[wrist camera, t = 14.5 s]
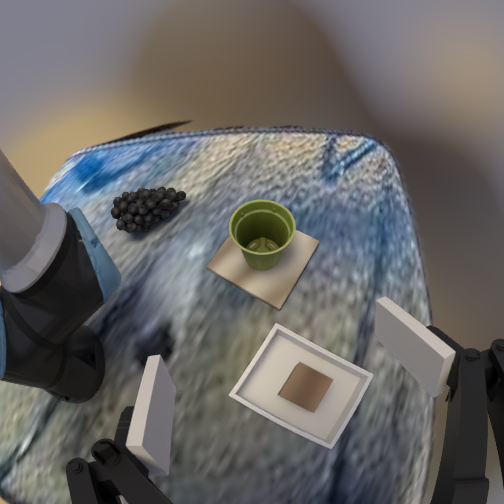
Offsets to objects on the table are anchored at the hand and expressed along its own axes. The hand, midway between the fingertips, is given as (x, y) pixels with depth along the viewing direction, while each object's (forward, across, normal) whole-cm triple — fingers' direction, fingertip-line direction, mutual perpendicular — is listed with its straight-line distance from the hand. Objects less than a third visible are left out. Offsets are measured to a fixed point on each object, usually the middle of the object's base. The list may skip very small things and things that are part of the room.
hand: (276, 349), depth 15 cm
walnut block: (+16, +4, -20) cm, 26 cm away
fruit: (+42, -14, +4) cm, 45 cm away
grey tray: (+16, +4, -21) cm, 27 cm away
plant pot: (+32, +4, -4) cm, 32 cm away
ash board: (+32, +4, -5) cm, 33 cm away
